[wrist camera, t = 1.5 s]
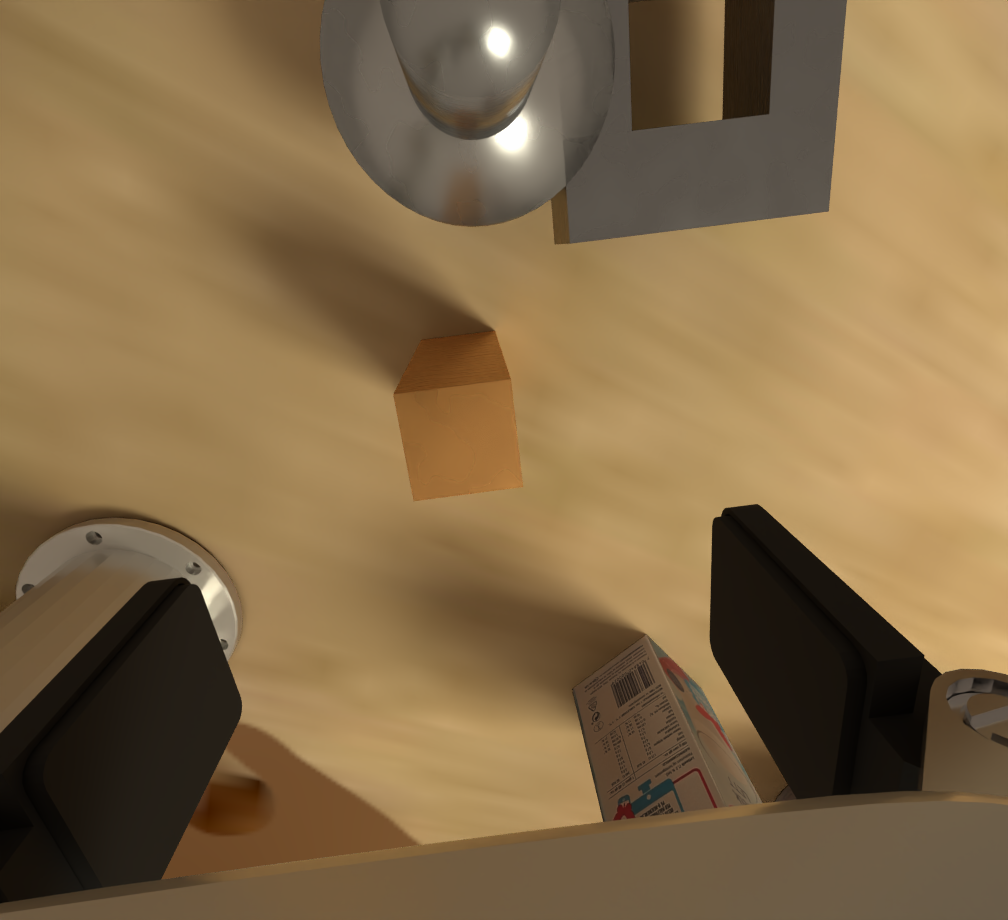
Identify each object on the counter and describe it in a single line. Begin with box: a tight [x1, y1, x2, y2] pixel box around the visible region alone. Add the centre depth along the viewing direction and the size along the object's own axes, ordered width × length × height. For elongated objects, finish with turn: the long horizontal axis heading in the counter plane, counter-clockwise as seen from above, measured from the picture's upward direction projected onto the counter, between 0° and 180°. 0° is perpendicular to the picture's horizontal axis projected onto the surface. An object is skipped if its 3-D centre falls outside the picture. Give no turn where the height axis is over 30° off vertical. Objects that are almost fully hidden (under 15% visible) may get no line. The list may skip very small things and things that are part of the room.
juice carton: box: [572, 634, 762, 822], centre depth 29 cm, size 7×7×22 cm
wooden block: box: [393, 331, 523, 501], centre depth 25 cm, size 4×4×12 cm
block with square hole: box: [320, 0, 847, 244], centre depth 20 cm, size 12×18×14 cm, turn 97°
